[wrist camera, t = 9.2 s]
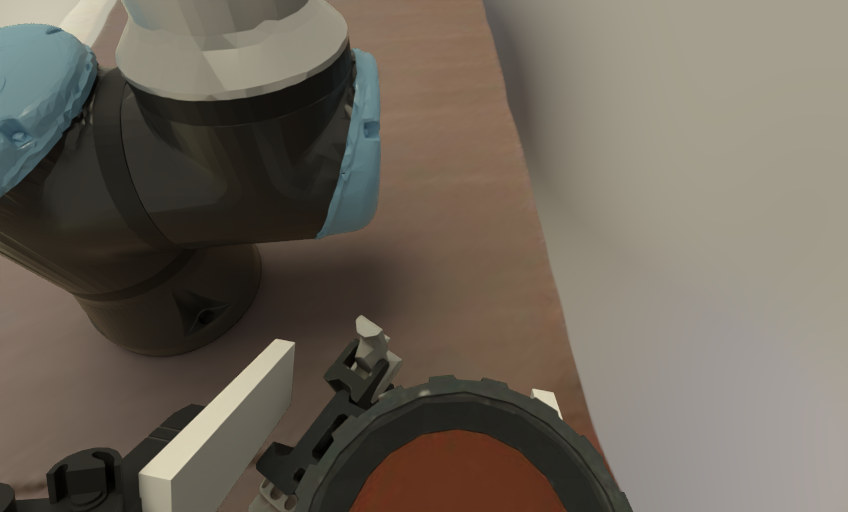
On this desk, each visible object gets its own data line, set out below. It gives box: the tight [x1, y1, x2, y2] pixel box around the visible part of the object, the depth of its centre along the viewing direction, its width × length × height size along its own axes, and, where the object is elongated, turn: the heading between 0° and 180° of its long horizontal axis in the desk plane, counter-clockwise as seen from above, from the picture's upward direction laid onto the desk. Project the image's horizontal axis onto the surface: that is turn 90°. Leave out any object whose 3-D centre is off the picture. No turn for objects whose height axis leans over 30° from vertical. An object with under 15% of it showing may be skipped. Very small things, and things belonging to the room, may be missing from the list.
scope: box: [248, 315, 633, 512], centre depth 12 cm, size 8×14×10 cm
